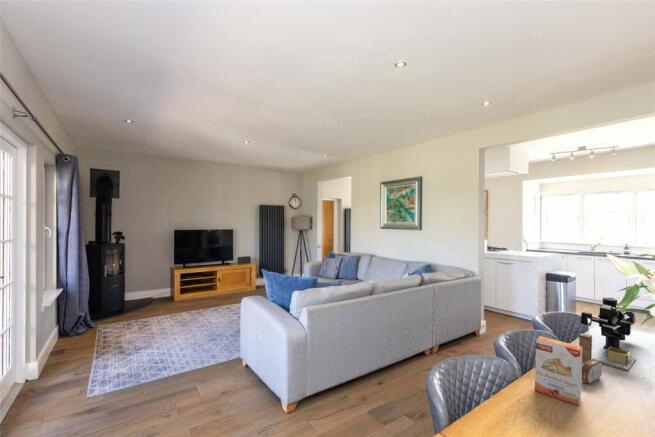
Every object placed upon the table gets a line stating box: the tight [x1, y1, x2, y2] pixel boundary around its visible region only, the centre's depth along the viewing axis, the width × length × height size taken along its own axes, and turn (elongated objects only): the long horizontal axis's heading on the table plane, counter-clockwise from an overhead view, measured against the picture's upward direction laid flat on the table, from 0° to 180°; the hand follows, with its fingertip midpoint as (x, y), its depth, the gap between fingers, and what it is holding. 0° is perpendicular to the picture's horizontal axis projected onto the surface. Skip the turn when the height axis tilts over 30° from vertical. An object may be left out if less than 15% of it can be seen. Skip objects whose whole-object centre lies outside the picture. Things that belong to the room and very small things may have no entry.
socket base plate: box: [597, 346, 637, 372], centre depth 152 cm, size 20×11×5 cm, turn 128°
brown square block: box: [578, 332, 593, 363], centre depth 152 cm, size 4×4×12 cm
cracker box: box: [534, 335, 583, 407], centre depth 121 cm, size 14×6×21 cm, turn 44°
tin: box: [581, 358, 603, 385], centre depth 133 cm, size 15×3×8 cm, turn 120°
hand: (600, 327), depth 151 cm, fingers open, 9 cm apart
